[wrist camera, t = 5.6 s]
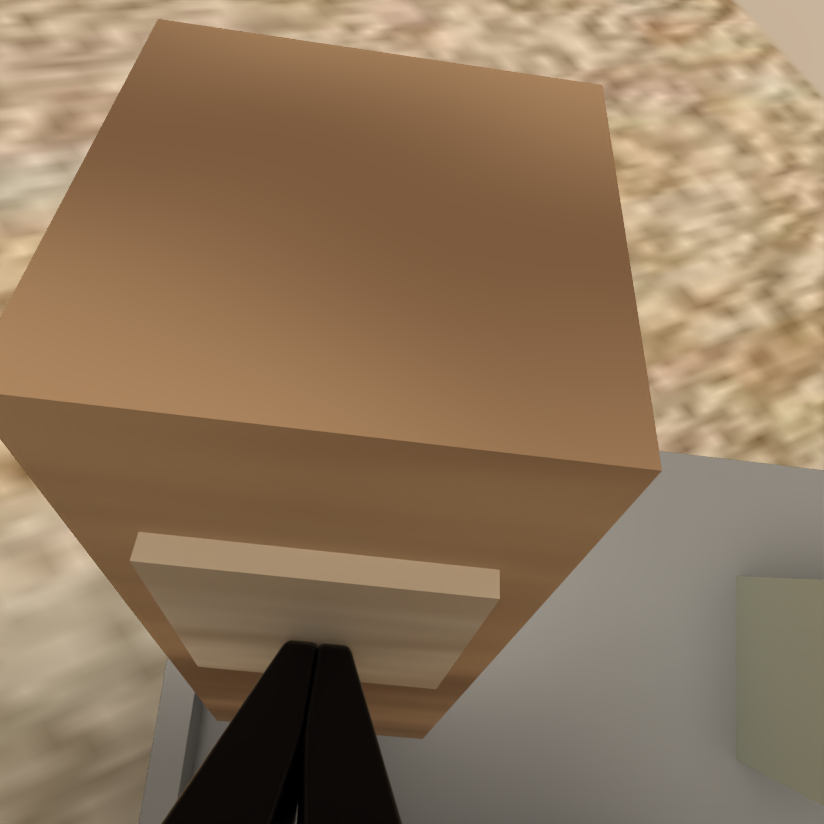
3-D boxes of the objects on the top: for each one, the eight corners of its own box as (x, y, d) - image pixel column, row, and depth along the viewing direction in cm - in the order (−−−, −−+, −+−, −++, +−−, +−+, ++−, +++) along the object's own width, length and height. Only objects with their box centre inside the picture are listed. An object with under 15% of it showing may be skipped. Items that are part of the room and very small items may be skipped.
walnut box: (421, 752, 17) (667, 507, 5) (213, 734, 16) (-58, 426, 5) (432, 547, 19) (603, 85, 8) (256, 528, 19) (158, 18, 7)
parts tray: (948, 911, 19) (1016, 951, 17) (153, 848, 18) (128, 884, 16) (922, 485, 22) (977, 478, 20) (227, 404, 20) (213, 388, 18)
